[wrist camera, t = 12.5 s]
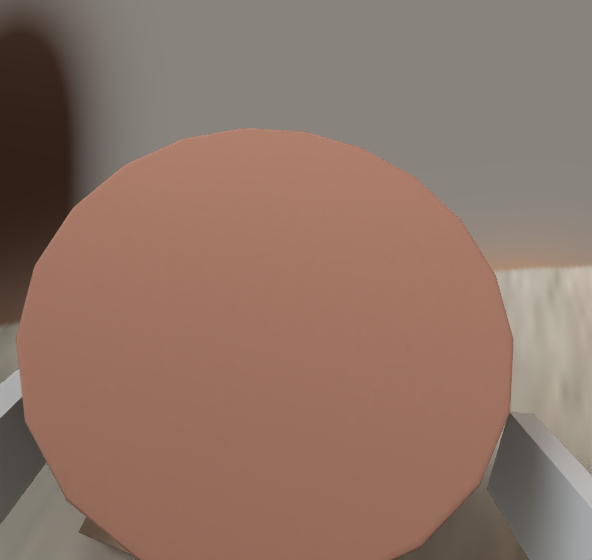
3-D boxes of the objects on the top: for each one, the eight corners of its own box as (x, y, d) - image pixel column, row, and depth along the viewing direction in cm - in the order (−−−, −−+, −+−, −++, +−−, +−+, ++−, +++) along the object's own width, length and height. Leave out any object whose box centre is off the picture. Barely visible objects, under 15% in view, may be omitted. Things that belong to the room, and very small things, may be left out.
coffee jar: (253, 319, 30) (273, 71, 14) (385, 442, 27) (597, 306, 11) (110, 448, 25) (-100, 298, 9) (252, 611, 22) (291, 785, 7)
